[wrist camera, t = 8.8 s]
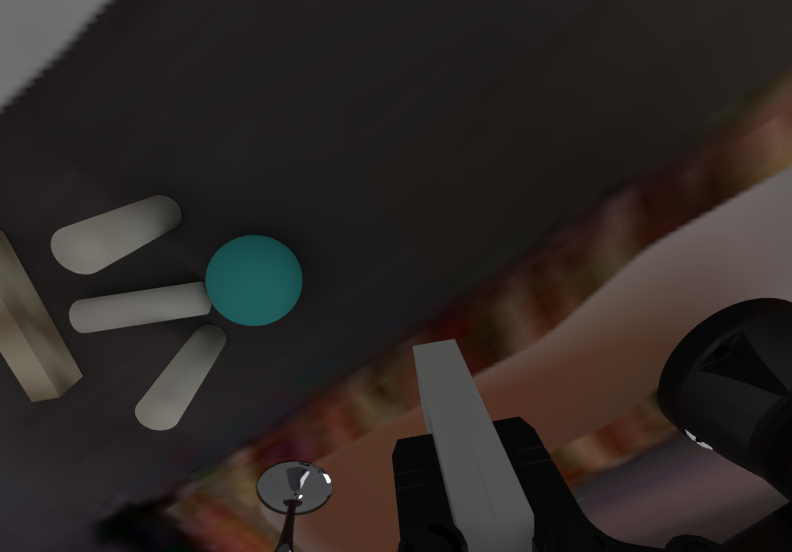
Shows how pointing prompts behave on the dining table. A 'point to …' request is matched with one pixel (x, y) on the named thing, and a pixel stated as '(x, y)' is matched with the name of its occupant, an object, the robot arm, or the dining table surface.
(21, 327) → the backstop
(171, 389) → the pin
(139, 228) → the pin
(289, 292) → the ball
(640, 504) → the dining table surface
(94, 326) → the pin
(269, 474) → the wine glass
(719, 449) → the robot arm
